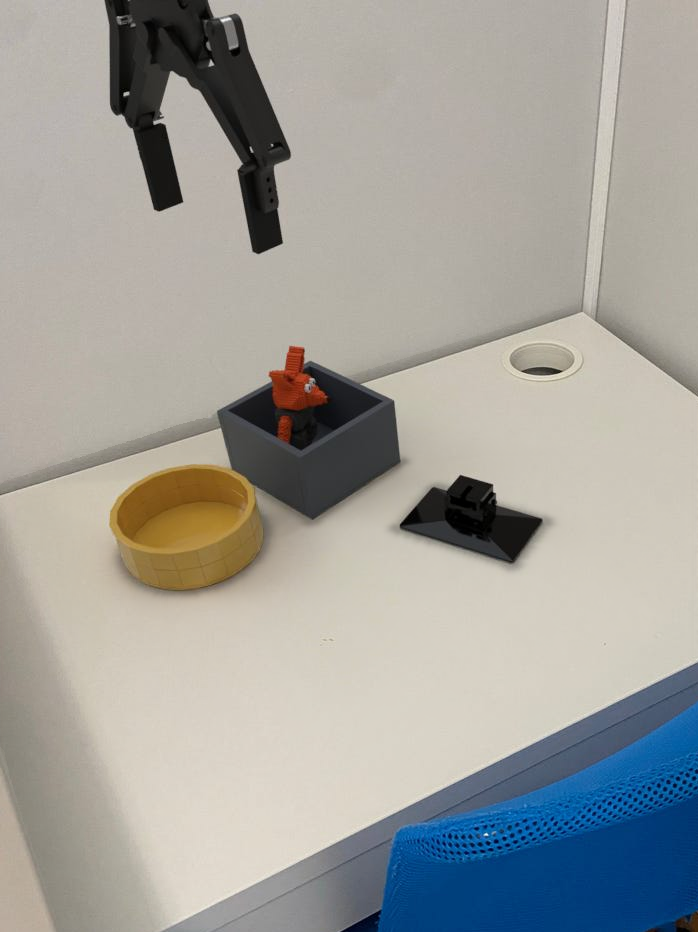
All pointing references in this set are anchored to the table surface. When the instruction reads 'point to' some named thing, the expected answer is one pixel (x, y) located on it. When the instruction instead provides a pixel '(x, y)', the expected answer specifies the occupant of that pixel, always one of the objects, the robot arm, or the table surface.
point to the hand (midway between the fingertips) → (216, 226)
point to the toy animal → (296, 401)
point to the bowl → (187, 526)
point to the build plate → (472, 520)
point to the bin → (313, 443)
